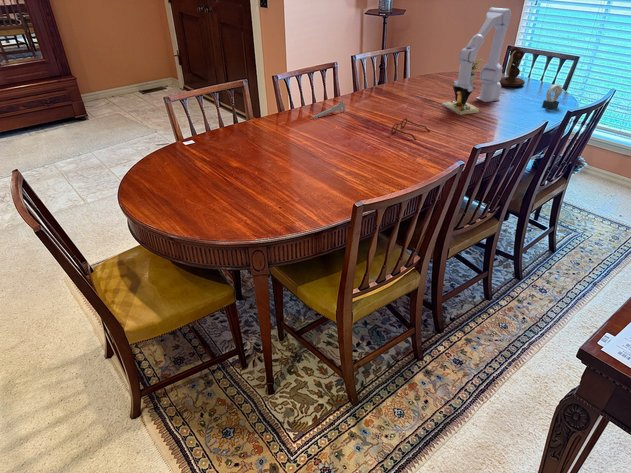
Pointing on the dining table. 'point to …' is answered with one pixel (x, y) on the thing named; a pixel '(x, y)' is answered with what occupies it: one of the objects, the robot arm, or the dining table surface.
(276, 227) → the dining table surface
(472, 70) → the house plant
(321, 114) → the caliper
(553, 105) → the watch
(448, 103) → the pale green hollowed slab
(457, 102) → the amber jar
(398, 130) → the glasses
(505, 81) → the brown carved statue
